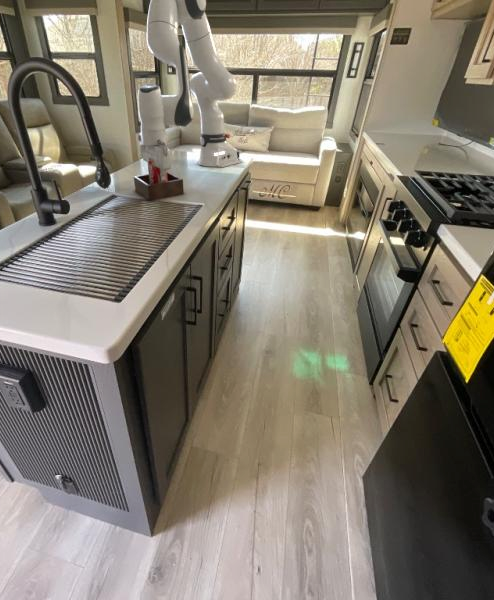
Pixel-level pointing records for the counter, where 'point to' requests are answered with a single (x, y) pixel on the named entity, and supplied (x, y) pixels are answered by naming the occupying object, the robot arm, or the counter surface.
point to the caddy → (158, 187)
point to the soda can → (154, 173)
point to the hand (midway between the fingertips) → (157, 177)
